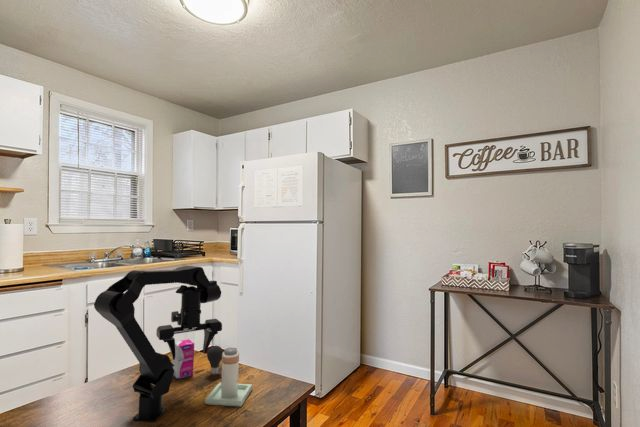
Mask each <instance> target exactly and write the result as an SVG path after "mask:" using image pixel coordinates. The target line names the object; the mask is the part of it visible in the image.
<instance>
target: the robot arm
mask: <svg viewBox="0 0 640 427" xmlns="http://www.w3.org/2000/svg"><path fill="white" fill-rule="evenodd" d="M177 283H178V284H181V285H180V286H179V288H177V290H176V291H175V293H176V294H180V295H181V301H180V304H181V306H180V312H179V311H178V310H175V311H171V314H170V315H171V318H170V321H171V323H177V324H176V325H177V326H175V327H173V326H172V325H171V324H166V325H159V326H158V327H157V328H156V332H155V333H156V337H157V339H158V340H159V341H163V342H164V343H166V344H167V345H168V349H169V351H170V354H171V357H172V359H173V360H175V342H176V340H175V338H174V336H175V335H177V334H184V333H191V332H197V331H203V332H204V337H203V345H202V353H203V355H206V353H207V352H208V350H209V348H210V347H209V346H210V344H211V343H212V341H213V339H214V338H215V335H217V334H218V333H219V332H221V331H222V330H223V323H222V322H221V321H220V320H219V319H218V318H210V319H205V321H204V323H201V314H202V309H201V307H202V306H201V304H206V303H211V302H215V301H218V300H219V299H220V298H221V296H222V290H221V288H220V286H219V284H218V281H217V280H212V279H211V280H209V278H208V277H207V275H206V273H205V270H204V268H203V267H201V266H196V265H195V266H194V265H183V266H179V267H177V268H174V269H161V270H160V269H159V270H158V269H157V270H155V269H154V270H139V269H138V270H136V269H135V270H134V269H133V270H131V271H129V272H127V273H126V275H125V276H123V277H122V278H120V279H119V280H117V281H116V282H114V283H113V284H111V285H110V286H109V287H108V288H107V289H106V290H104V291H103V292H101V293H99V294H98V295H97V296H96V299H95V301H94V303H93V307H94V309H95V311H96V312H97V313H98V314H99V315H100V316H101V317H102V318H103V319H105V320H106V321H108V322H109V323H111V324H112V325H113V326H115V328H116V329H117V331H118V333H119V334H120V335H121V337H122V338H123V340H124V341H125V343H126V345H127V346H128V348H130V351H131V352H132V353H133V355H134V356H135V358H136V360H137V361H138V362H139V368H138V369H139V370H138V372H139V373H140V374H139V375H138V378H136V380H135V381H134V383H133V384H132V389H133V392H134V393H138V394H139V397H138V398H139V399H138V412H137V413H136V414H135V415H134V416H133V417H132V420H133V421H142V422H143V421H145V422H157V420H158V419H160V418H161V416H163V414H164V413H166V412H167V410H168V407H165V406H163V399H164V398H163V396H164V395H166V394H167V393H169V391H170V388H171V384H172V381H173V378H174V376H173V374H174V368H173V366H174V364H172V361H171V358H170V357H169V356H168V354H167V355H166V354H163V353H160V352H156V349H155V348H154V346H153V345H152V343H151V342H150V340H149V338H148V337H147V336H146V334H145V332H144V331H143V329H142V327H141V326H140V324H139V322H138V320H137V319H136V317H135V306H134V305H135V304H134V303H135V302H136V301H137V300H139V297H140V296H141V293H142V290H143V289H144V287H145V286H150V285H162V284H177ZM183 284H184V285H183ZM185 284H186V285H185ZM187 285H188V286H187Z"/></svg>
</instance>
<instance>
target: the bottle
mask: <svg viewBox="0 0 640 427" xmlns="http://www.w3.org/2000/svg"><path fill="white" fill-rule="evenodd" d="M239 362H240V352H239V350H238V348H236V347H227V348H225V349H223V353H222V359H221V382H220V383H221V397H222V398H227V399H233V398H235V397H236V396H237V395H238V384H239V366H240V365H239Z"/></svg>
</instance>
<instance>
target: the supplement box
mask: <svg viewBox="0 0 640 427" xmlns="http://www.w3.org/2000/svg"><path fill="white" fill-rule="evenodd" d="M194 358H195V342H193V341H192V340H191V339H190V338H188V339H183V340H177V341H176V340H175V360H173V358H172V361H171V363H172V364H174V366H173V368H174V374H173V378H175V380H179V379H180V380H181V379H185V378H187V377H188V378H189V377H191V376H192V377H193V375H194V363H195V361H194Z"/></svg>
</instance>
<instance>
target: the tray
mask: <svg viewBox="0 0 640 427" xmlns="http://www.w3.org/2000/svg"><path fill="white" fill-rule="evenodd" d="M252 390H253V384H252V383H251V384H249V383H238V395H237V396H236V397H235V398H233V399H227V398H222V397H221V382H218V384H217V385H216V386H215V387H214V388H213V389H212V391H211V392H210V393H209V394H208V395H207V396H206V397H205V399H204V405H212V406H226V407H240V408H241V407H242V406H243V404H244V403H245V401H246V400H247V398H248V396H249V395H250V394H251V392H252Z"/></svg>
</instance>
